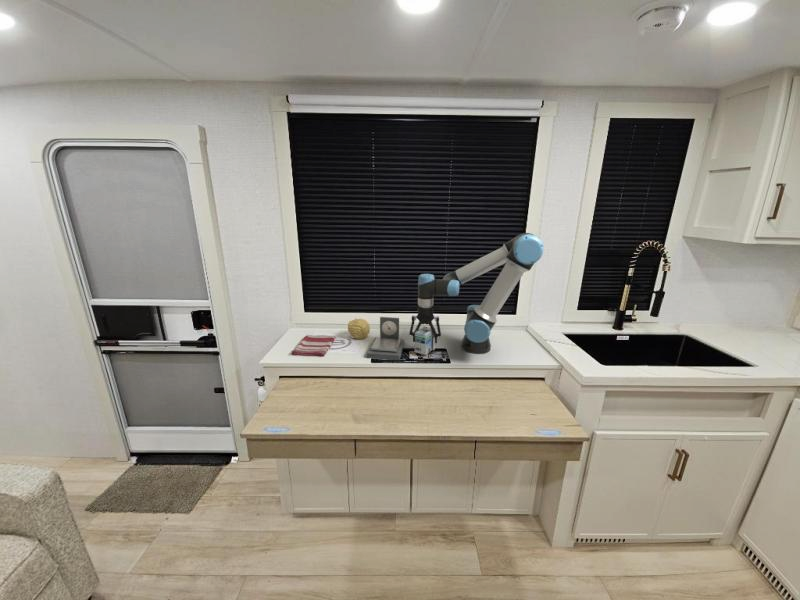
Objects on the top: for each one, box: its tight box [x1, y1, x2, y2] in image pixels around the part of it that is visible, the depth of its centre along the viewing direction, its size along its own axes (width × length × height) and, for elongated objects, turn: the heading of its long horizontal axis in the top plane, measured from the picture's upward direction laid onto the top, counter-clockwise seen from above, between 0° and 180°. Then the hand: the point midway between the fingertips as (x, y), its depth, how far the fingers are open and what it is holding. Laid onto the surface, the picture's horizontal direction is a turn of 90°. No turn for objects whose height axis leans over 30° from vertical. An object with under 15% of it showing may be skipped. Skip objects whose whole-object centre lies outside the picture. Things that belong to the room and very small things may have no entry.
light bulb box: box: [414, 325, 434, 356], centre depth 164 cm, size 11×7×11 cm, turn 149°
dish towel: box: [290, 334, 337, 358], centre depth 171 cm, size 17×23×3 cm
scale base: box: [366, 316, 405, 361], centre depth 166 cm, size 16×20×14 cm
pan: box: [371, 337, 402, 352], centre depth 166 cm, size 13×13×2 cm
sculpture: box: [347, 318, 371, 340], centre depth 183 cm, size 11×12×11 cm
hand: (424, 348), depth 166 cm, fingers closed on light bulb box, 8 cm apart
